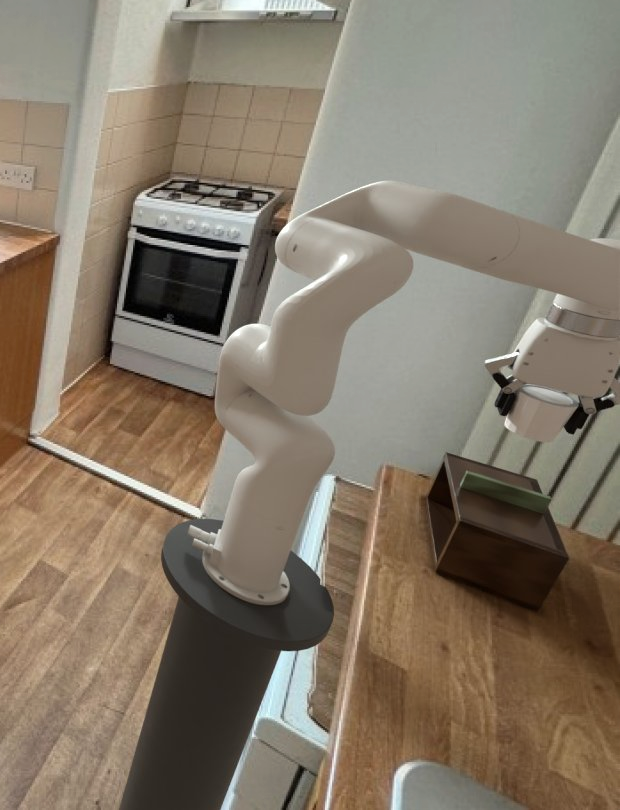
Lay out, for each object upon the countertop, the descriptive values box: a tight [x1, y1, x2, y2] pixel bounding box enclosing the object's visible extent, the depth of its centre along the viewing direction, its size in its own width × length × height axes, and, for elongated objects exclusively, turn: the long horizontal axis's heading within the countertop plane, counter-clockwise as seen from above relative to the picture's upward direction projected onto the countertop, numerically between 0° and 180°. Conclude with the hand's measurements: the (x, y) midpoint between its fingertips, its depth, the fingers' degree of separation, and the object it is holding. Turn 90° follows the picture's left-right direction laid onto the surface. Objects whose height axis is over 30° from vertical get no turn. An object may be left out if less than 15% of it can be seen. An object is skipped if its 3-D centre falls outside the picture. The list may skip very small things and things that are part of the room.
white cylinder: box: [503, 383, 579, 443], centre depth 95 cm, size 7×7×7 cm
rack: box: [424, 451, 570, 613], centre depth 101 cm, size 12×22×14 cm, turn 142°
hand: (534, 420), depth 96 cm, fingers closed on white cylinder, 6 cm apart
